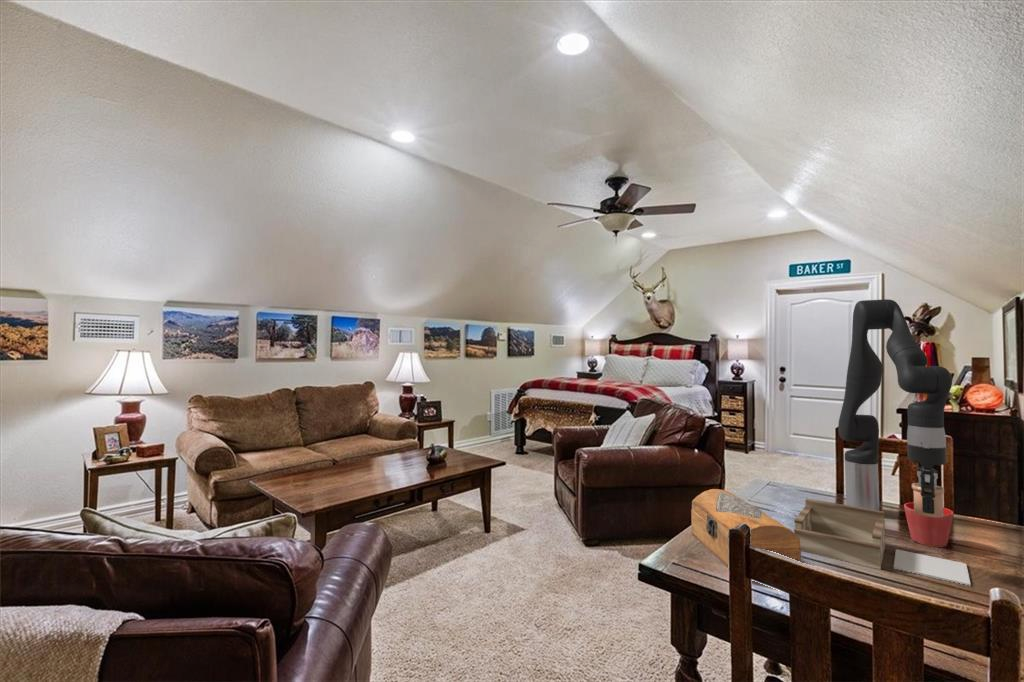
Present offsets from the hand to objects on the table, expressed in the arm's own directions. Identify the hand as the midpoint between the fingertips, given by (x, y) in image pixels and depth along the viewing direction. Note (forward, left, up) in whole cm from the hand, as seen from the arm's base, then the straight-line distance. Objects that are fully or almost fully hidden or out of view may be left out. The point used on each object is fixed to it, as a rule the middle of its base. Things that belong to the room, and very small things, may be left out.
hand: (928, 509), depth 120 cm
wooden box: (+23, -39, -15) cm, 48 cm away
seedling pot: (0, 0, -1) cm, 1 cm away
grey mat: (0, 0, -15) cm, 15 cm away
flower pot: (-21, 0, -15) cm, 26 cm away
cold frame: (0, -19, -15) cm, 24 cm away
